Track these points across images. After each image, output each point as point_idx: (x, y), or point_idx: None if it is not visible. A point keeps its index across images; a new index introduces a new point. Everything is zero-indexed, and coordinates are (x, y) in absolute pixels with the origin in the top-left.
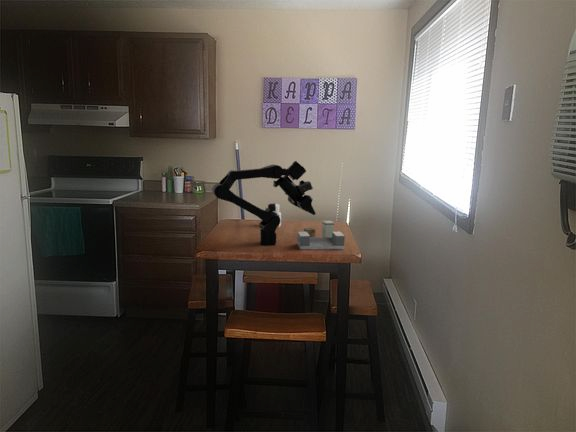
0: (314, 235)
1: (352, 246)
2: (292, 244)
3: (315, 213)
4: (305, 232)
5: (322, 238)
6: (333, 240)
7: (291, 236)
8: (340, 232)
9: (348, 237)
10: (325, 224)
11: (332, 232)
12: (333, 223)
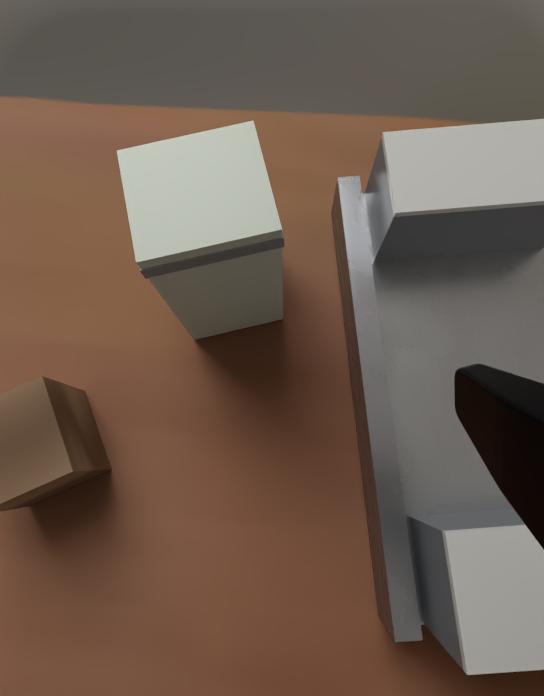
0: (78, 395)
1: (417, 125)
2: (407, 669)
3: (484, 368)
4: (496, 556)
5: (379, 340)
6: (449, 245)
7: (26, 652)
8: (426, 134)
9: (100, 109)
10: (271, 246)
11: (409, 214)
12: (256, 138)
